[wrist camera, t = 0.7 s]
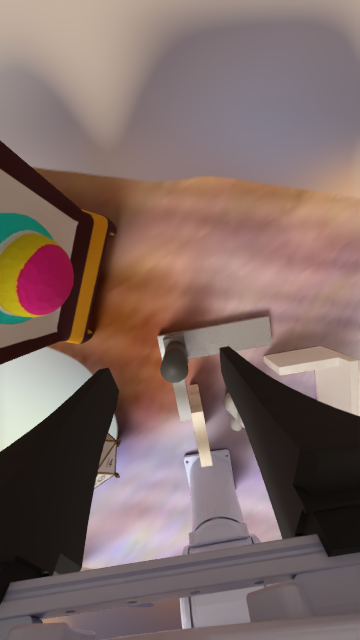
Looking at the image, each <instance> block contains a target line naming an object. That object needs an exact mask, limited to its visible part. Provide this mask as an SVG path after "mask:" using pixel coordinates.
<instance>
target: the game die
mask: <svg viewBox="0 0 360 640" xmlns="http://www.w3.org/2000/svg"><path fill="white" fill-rule="evenodd" d="M120 440H121V438H118V439H117V440H115V439H114V438H113V437H112V436H111V435H110V434H109V433H108V434H107V437H106V440H105V443H104V447H103V450H102V454H101V458H100V463H99V467H98V472H97V477H96V482H95V487H94V489H95V488H96V487H98V486H99V485H101V484H102V483H103V482H105V481H106V480H108V479H109V478H111V477H112V476H113V475H115V477H117V478H120V476H119V474H118V473H116V452H117V447H119V445H120V444H119V443H117V442H119V441H120Z"/></svg>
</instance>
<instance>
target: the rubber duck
mask: <svg viewBox="0 0 360 640" xmlns="http://www.w3.org/2000/svg"><path fill="white" fill-rule="evenodd" d="M224 406H225V408H226V410H227V411H228V412H229V418H230V425H231V428H232V429H233V430H235V431H240V430H241V429H242V427H243V428H245V427H244V424H243V422H242V420H241V418H240V415H239V413H238V411H237V409H236V407H235V405H234V403H233V400H232V398H231V396H230V394H229V392H228V393H227V395H226V397H225V399H224Z"/></svg>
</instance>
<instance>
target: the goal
mask: <svg viewBox="0 0 360 640" xmlns="http://www.w3.org/2000/svg"><path fill="white" fill-rule="evenodd" d="M263 358H264V363H265V364H266V365H267V366H269V367H270V368H271V369H272V370H274V371H275V372H276V373H277V374H278V375H280V376H282V375H288V374H293V373H299V372H305V371H311V370H315V380H316V394H317V400H318V401H320V402H323V403H325V404H328V405H330V406H332V407H335V408H338V409H340V410H343V411H346V412H349V413H352V414H354V415H357V416H360V368H359V360H358V359H355V358H352V357H349V356H347V355H344V354H341V353H339V352H336V351H333V350H330V349H328V348H325V347H322V346H317V347H311V348H306V349H300V350H294V351H288V352H283V353H277V354H271V355H265V356H263Z"/></svg>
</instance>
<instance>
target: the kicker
mask: <svg viewBox="0 0 360 640" xmlns="http://www.w3.org/2000/svg"><path fill="white" fill-rule="evenodd" d="M163 343H164V348H165V353H164V357H163V360H162V364H161V368H160V371H161V375H162V377H163V378H164V379H165V380H166V381H168V382H171V383H173V386H174V391H175V396H176V401H177V406H178V411H179V416H180V420H181V422H185V421H192V420H193V425H194V431H195V436H196V441H197V446H198V451H199V457H200V462H201V467H206V466H212V465H213V464H212V459H211V453H210V448H209V442H208V437H207V431H206V426H205V420H204V415H203V409H202V404H201V399H200V393H199V388H198V384H194V385H189V395H190V401H189V396H188V391H187V386H186V381H185V378H186V376H187V374H188V363H189V362H188V355H187V350H186V344H185V339H184V334H179V335H173V336H168V337H164V338H163ZM190 406H191V407H190Z"/></svg>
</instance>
